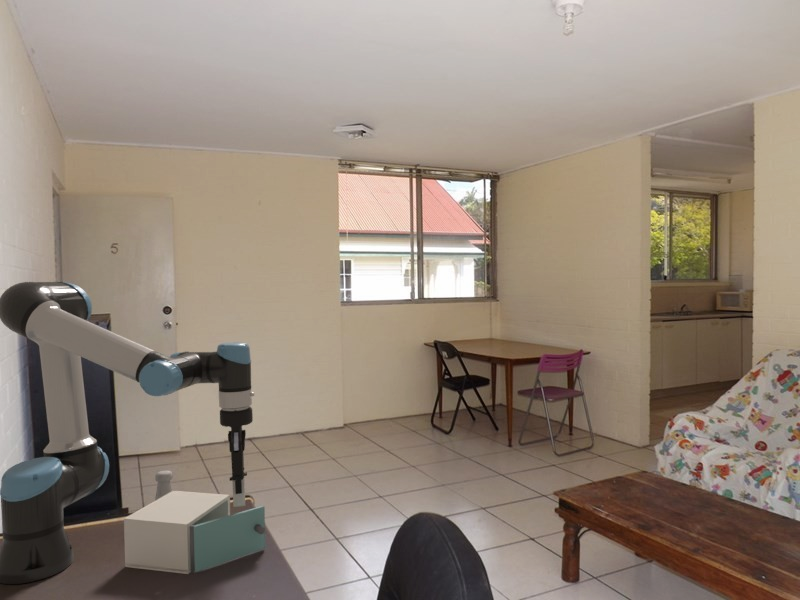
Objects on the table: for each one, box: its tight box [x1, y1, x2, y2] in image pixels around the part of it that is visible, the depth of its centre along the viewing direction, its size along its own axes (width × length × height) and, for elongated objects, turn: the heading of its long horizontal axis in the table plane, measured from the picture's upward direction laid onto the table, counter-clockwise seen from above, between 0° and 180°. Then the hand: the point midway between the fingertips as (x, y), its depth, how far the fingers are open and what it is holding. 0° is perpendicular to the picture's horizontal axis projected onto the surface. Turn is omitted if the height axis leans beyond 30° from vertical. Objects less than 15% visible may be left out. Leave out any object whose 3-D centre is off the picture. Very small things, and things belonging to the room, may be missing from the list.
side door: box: [190, 505, 266, 574], centre depth 131 cm, size 4×18×10 cm, turn 132°
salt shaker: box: [154, 470, 173, 501], centre depth 156 cm, size 6×6×13 cm
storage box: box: [123, 490, 231, 575], centre depth 137 cm, size 16×18×11 cm
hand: (239, 505), depth 138 cm, fingers closed
